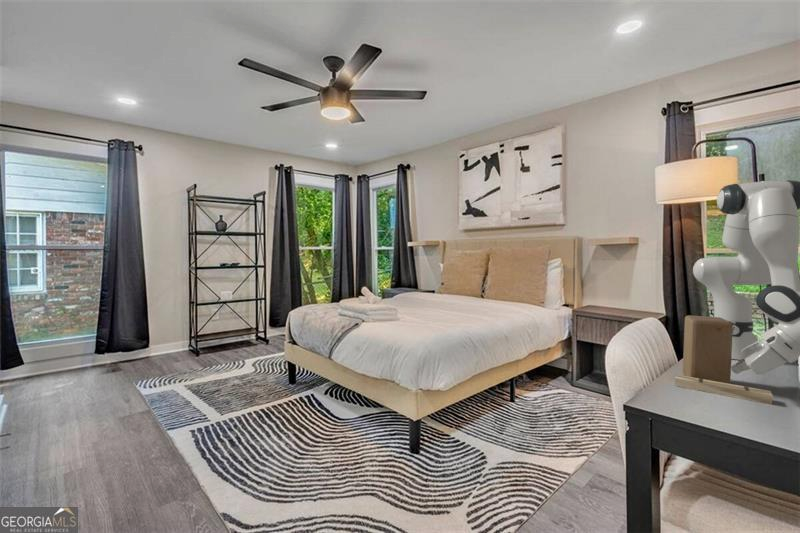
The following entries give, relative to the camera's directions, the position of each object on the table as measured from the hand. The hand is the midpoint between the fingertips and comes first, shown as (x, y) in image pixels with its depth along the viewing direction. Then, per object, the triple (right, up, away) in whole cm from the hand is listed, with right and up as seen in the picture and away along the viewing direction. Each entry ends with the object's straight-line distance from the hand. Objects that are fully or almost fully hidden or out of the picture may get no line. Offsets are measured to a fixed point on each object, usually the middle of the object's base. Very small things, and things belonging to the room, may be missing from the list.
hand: (733, 370), depth 112 cm
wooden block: (-4, -5, +5) cm, 8 cm away
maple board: (-8, -5, -5) cm, 11 cm away
